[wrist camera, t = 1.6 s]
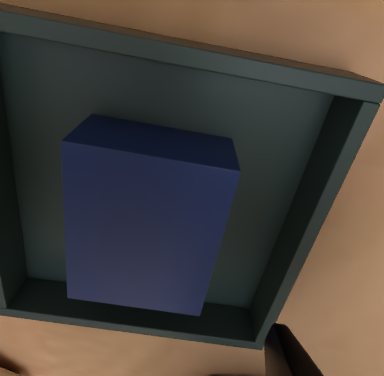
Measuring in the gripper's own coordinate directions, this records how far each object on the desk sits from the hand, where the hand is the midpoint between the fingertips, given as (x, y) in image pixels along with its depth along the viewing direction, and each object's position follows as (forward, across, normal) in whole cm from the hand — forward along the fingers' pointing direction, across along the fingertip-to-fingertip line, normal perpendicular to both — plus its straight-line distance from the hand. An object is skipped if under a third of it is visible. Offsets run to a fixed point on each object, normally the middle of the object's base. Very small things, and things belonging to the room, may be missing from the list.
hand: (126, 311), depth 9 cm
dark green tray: (+7, 0, 0) cm, 7 cm away
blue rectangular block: (+6, 0, 0) cm, 6 cm away
